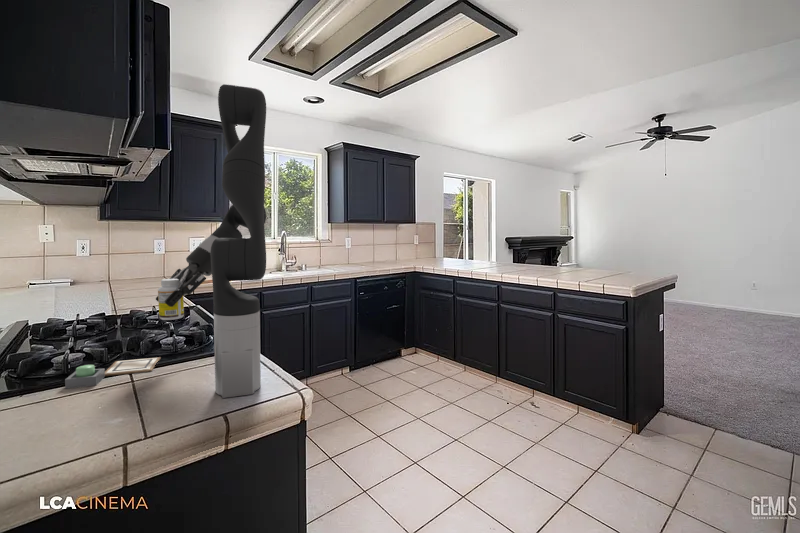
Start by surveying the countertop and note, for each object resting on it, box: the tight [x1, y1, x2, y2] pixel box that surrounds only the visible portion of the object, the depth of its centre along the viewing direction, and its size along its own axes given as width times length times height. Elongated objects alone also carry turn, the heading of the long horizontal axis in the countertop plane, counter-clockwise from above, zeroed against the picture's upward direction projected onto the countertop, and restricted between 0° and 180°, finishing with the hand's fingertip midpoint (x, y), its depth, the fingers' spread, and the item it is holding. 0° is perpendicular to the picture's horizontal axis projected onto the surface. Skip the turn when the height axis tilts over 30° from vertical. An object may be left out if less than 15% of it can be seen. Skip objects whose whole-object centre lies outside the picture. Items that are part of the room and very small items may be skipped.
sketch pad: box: [105, 356, 162, 377], centre depth 93 cm, size 10×10×1 cm
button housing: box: [64, 368, 106, 389], centre depth 83 cm, size 5×5×2 cm
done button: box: [75, 364, 96, 377], centre depth 83 cm, size 3×3×2 cm
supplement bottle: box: [157, 278, 185, 321], centre depth 96 cm, size 6×6×10 cm
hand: (163, 303), depth 95 cm, fingers closed on supplement bottle, 5 cm apart
